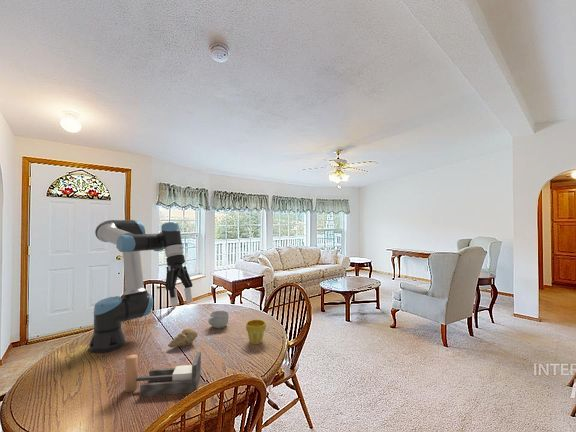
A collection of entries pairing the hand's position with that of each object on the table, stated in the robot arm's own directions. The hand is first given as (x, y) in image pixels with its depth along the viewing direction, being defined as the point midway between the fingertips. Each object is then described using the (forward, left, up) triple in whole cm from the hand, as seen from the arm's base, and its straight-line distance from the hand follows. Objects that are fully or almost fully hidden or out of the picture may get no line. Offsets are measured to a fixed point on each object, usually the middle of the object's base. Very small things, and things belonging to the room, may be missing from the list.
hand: (182, 303), depth 121 cm
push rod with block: (-5, -13, -28) cm, 31 cm away
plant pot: (+32, +22, -28) cm, 48 cm away
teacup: (+10, +44, -28) cm, 53 cm away
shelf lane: (-2, -13, -28) cm, 30 cm away
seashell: (-5, +21, -28) cm, 35 cm away
